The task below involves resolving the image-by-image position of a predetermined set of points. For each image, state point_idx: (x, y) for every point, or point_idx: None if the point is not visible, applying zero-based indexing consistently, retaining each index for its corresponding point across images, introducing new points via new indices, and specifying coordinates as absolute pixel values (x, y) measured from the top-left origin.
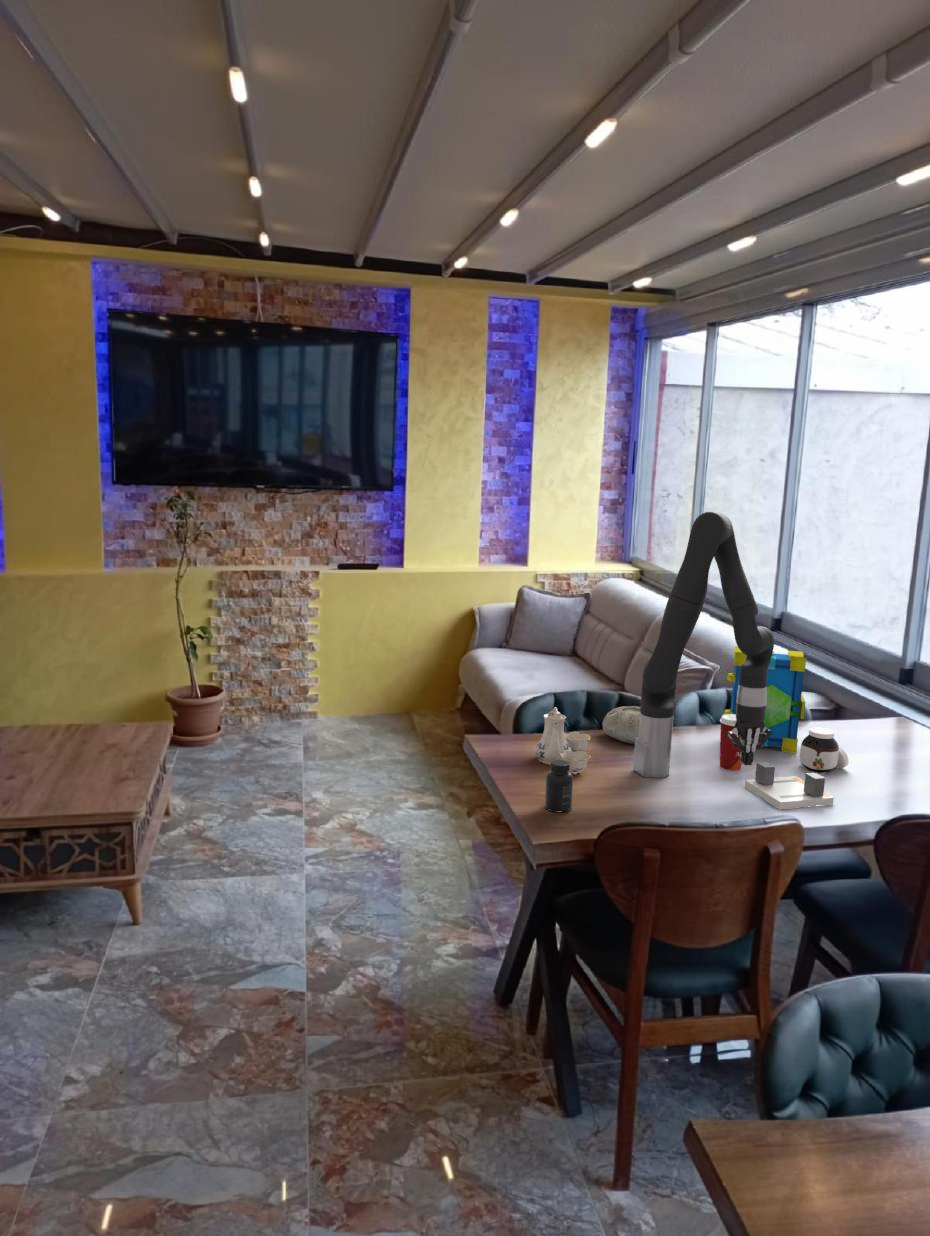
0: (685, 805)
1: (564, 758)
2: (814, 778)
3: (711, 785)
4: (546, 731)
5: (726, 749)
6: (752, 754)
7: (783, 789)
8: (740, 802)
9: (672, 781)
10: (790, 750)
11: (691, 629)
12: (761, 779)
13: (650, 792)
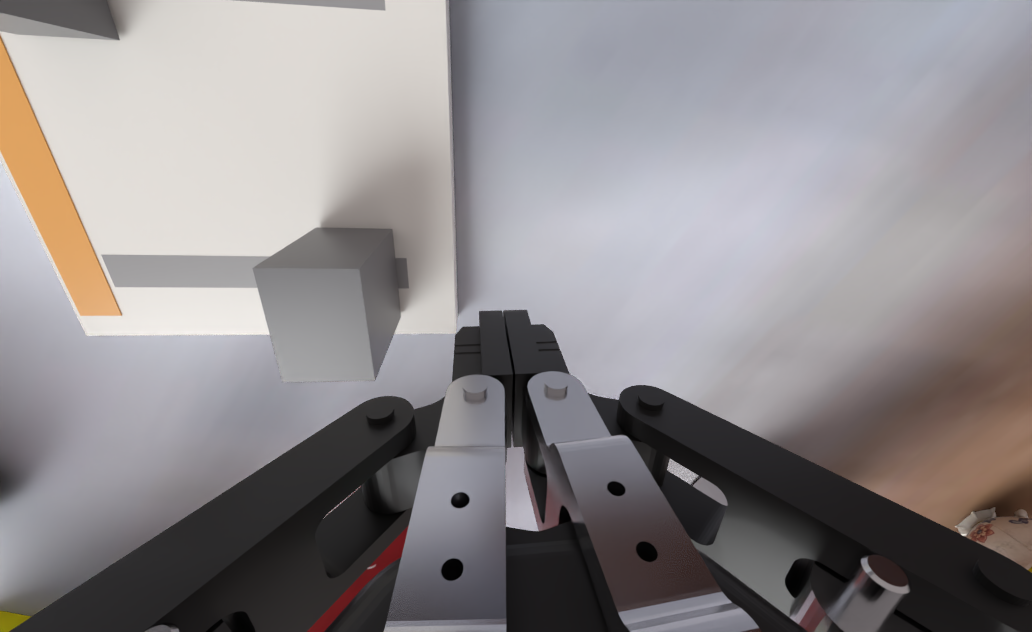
0: (934, 150)
1: None
2: None
3: (608, 359)
4: None
5: None
6: (483, 360)
7: (277, 136)
8: (624, 113)
9: (737, 420)
10: (11, 625)
11: None
12: (388, 266)
13: (923, 333)
